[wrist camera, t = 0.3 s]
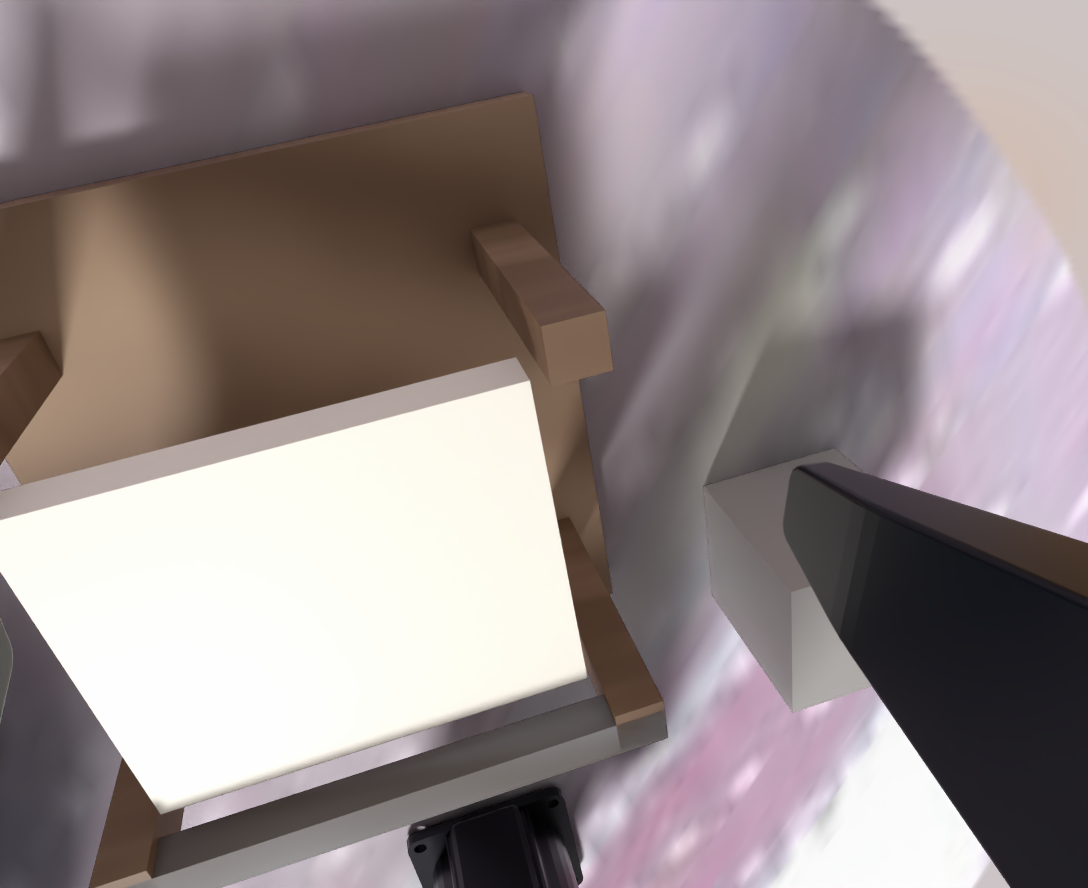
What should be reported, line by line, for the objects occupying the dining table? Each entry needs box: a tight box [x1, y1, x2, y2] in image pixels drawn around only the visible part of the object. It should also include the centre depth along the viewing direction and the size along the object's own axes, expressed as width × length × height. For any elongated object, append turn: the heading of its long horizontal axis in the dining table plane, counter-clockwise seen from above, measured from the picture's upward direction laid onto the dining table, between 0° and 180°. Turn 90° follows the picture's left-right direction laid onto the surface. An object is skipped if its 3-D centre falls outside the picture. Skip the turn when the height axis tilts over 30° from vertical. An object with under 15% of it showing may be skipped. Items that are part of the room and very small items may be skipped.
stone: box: [703, 448, 871, 713], centre depth 27 cm, size 5×5×6 cm
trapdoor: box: [0, 357, 587, 814], centre depth 17 cm, size 8×10×1 cm
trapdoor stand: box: [0, 92, 668, 888], centre depth 19 cm, size 16×15×9 cm
